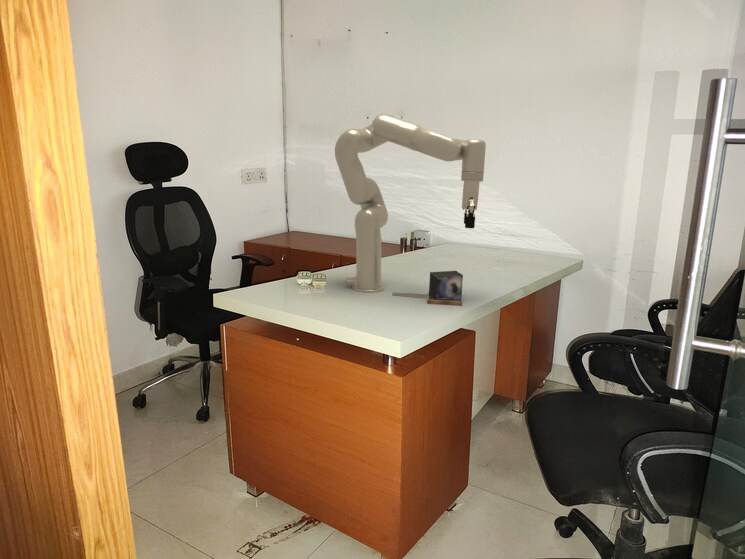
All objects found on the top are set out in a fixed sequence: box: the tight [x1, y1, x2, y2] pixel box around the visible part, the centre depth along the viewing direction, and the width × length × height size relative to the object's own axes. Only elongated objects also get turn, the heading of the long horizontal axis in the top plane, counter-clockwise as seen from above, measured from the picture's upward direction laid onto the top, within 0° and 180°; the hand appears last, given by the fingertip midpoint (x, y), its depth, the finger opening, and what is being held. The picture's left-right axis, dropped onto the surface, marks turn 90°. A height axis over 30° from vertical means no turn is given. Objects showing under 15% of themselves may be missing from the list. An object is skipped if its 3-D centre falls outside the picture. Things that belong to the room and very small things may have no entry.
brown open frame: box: [426, 298, 463, 307], centre depth 187 cm, size 12×14×2 cm
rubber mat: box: [391, 292, 429, 300], centre depth 189 cm, size 13×11×1 cm
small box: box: [427, 270, 464, 301], centre depth 186 cm, size 11×6×10 cm, turn 105°
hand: (468, 225), depth 183 cm, fingers open, 9 cm apart
